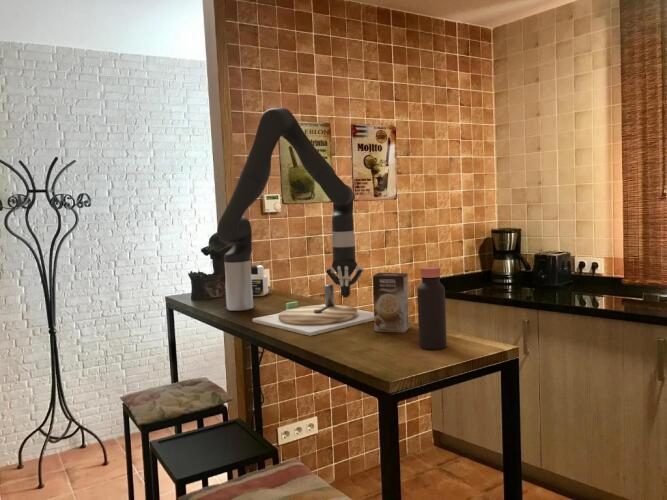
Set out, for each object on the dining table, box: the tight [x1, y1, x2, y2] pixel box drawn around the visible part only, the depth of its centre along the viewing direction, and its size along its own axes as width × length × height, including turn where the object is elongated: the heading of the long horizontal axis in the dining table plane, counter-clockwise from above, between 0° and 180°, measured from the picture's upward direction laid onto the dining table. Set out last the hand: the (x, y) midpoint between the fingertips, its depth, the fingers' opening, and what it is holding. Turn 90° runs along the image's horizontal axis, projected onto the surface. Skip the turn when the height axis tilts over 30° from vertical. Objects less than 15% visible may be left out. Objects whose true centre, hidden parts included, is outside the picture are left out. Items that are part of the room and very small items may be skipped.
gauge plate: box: [252, 300, 374, 337], centre depth 186 cm, size 30×30×4 cm
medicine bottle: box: [251, 264, 269, 297], centre depth 240 cm, size 7×7×12 cm
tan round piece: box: [278, 283, 358, 324], centre depth 185 cm, size 25×25×8 cm
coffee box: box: [372, 272, 410, 333], centre depth 167 cm, size 9×6×16 cm
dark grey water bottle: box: [416, 266, 448, 351], centre depth 146 cm, size 7×7×20 cm
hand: (345, 297), depth 194 cm, fingers closed
